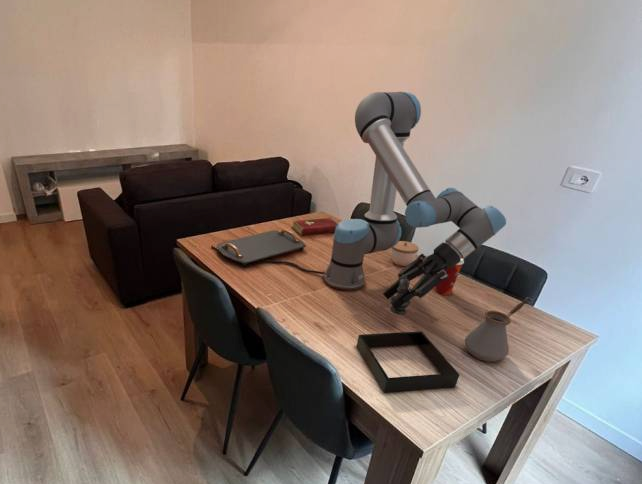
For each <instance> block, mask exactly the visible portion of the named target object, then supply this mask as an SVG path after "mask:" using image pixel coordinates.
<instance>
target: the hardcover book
mask: <svg viewBox="0 0 642 484" xmlns="http://www.w3.org/2000/svg"><path fill="white" fill-rule="evenodd" d="M338 223H339V222H338V221H336V220H335V219H334V218H332V217H319V218H307V219H293V220H292V227H291V229H292V230H294V232H296V233H297V235H299V236H300V237H308V236H320V235H331V234H334V233H335V230H336V226H337V225H338Z"/></svg>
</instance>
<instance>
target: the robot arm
mask: <svg viewBox="0 0 642 484" xmlns="http://www.w3.org/2000/svg"><path fill="white" fill-rule="evenodd" d="M421 115H422V106H421V103H420V101H419V99H418V97H417V96H416V95H415V94H413V93H412V92H406V91H376V92H371V93H368V94H367V95H366V96H365V97H363V99H361V100H360V101H359V103H358V105H357V107H356V109H355V112H354V124H355V125H354V126H355V128H356V132H357V135H359V137H360V139H361V141H362V142H363V143H365V144H368V145H369V147H370V148H371V150H372V152H373V153H374V155H375V163H374V168H373V169H374V170H373V178H372V185H371V193H370V201H369V210H368V211H367V212H365V213H364V215H363V217H364V218H363V219H360V218H354V219H353V218H348V219H347V218H346V219H344V220H341V221H340V222H337V223H338V225H337V226H336V230H335V233H333V242H332V249H331V257H330V262H329V264H328V265H327V268H326V269H325V271H319V270H311V269H307V268H303V267H301V266H300V265H298V264H296V263H294V262H291V261H286V260H272V259H261V260H257V261H256V262H261V263H271V264H272V263H273V264H286V265H291V266H294V267H295V268H297V269H299V270H300V271H303V272H306V273H313V274H319V275H323V282H324V283H325V284H326V285H327V286H328V287H330V288H332V289H335V290H339V291H346V292H347V291H349V292H350V291H356V290H357V291H358V290H360V289H361V288H363V287H364V285H365V280H366V278H365V274H364V268H363V263H364V258H365V255H370V254H373V253H377V252H378V253H379V252H384V251H388V250H389V249H391V248H392V247H394V246H395V245H396V244H397V243H398V242H399V241H401V237H402V226H400V225H401V223H400V222H399V220H398V215H397V214H396V213H395V206H396V197H397V192H398V194H399V196H400V197H401V200H402V201H403V203H404V204H405V206H406V208H405V212H404V216H405V221H406V223H407V224H408V225H409V226H410V227H412V228H416V229H417V228H419V229H420V228H428V227H430V226H434V225H435V226H436V225H438V224H444V223H445V224H446V223H449V222H452V223H453V224H454V225H455V226H456V227H458V229H457V230H456V231H455V232H453V233H452V234H450V235H449V236H448V237H447V238H445V240H444V241H445V242H441V243H439V244H438V245H437V246H436V247H435V248H434V249H433V253H432V254H430V255H425V254H424V253H421V254H419V256H418V257H417V258H415V259H414V261H413V262H411V263H410V264H408V265H407V266H405V267H404V268H403V269H402V270H401V271H400V272H398V273H397V276H398V279H397V280H396V281H395V282H393V283H392V284H391V285H390V287H389V288H387V289H386V290H385V291H383V292H382V295H383V296H384V297H385V299H386V300H390V299H391V297H393V296H395V295H397V291H398V290H397V288H398V287H399V284H400V280H401V279H403V278H405V277H406V276H407V279H408V280H409V281H410V282H411V281H412V280H414V279H416V278H418V277H420V276H421V277H420V278H419V280H418V281H417V282H416V283H415V284H414V285H413V286H412V287H411V288H410V287H409V288H408V289H409V290H406V291H405V292H404V293H403V294H401V295H400V296H399V297H398V298H396V299H395V300H394V301H392V302H391V301H390V305H391V306H393V307H394V308H395V309H397V308H399V307H400V306H401V305H403V304H404V303H406V302H408V301H409V300H410V301H411V300H412V299H413V298H419V299H423V297H424V296H426V295H427V294H428V293H429V292H431V291H432V290H433V289H435V287H436V286H437V285H438V284H439V283H441V282H442V281H444V280H446V279H448V278H449V277H448V275H447V274H446V272H445V271H446V270H447V269H448V268H453V267H454V266H455V265H456V264H458V263H459V262H460V260H461V259H460V258H462V259H464V260H465V258H467V257H468V256H469V255H470V254H472V253H473V252H474V251H476V250H477V249H478V248H479V247H480V246H482V245H483V244H484V243H486V242H487V241H489V240H490V239H491V238H492V237H494V236H495V235H496V234H497V233H499V232H500V230H502V229H503V228H504V227H505V226H506V224H507V218H506V217H505V215H504V214H503V213H502V212H501V211H500V210H499V209H498V208H497V207H495V206H493V205H487V206H486V207H484V208H482V207H479V206H478V205H477V204H476V203H475V202H473V201H472V200H471V199H470V198H468V197H467V196H466V195H465V194H464V193H463V192H461V191H459V190H458V189H457V188H455V187H447V188H446V189H445V190H442V191H441V192H440V193H439V194H438V195H437V196H436V197H435V195H434V194H433V192H432V191H431V189H430V187H429V186H428V183H426V181H425V179H424V178H423V177H422V174H421V173H420V171H419V170H418V168H417V167H416V165H415V164H414V162H413V161H412V160H411V158H410V156H409V155H408V154H409V153H407V152H406V150H405V148H404V145H405V142H406V141H407V140H408V139H409V138H411V137H410V136H411V130H412V129H414V128H415V127H416V126H417V124H418V123H419V122H420V119H421ZM213 246H214V245H211V248H212V249H213V250H216V251H218V252H219V250H218V249H217V247H216V246H214V247H213ZM215 247H216V248H215Z"/></svg>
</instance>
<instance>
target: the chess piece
mask: <svg viewBox="0 0 642 484" xmlns="http://www.w3.org/2000/svg"><path fill="white" fill-rule="evenodd" d="M410 284H411V281H409V280H408V279H407V276H406V277H405V278H403V279H401V280H400V284H399V287H398V288H397V290H398V291H397V293H396V294H395V295H393V296H392V297H391V298H390V303H391V302H392V301H394V300H395V299H396V298H398V297H399V296H400V295H401V294H403V293H404V292H405V291H406V290H409V288H410ZM409 291H410V290H409ZM410 304H411V300H409V301H408V302H406V303H404V304H403V305H401V306H400V307H399V308H397V309H395V308H394V307H393V306H392V305H391V306H390V307H389V311H390V312H391V313H392V314H395V315H398V316H404V315H406V314H407V312H408V310H407V308H408V307H409V305H410Z"/></svg>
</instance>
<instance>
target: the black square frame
mask: <svg viewBox="0 0 642 484" xmlns="http://www.w3.org/2000/svg"><path fill="white" fill-rule="evenodd" d="M405 346H417V347H418V348H419V349H420V351H422V353H423V354H424V355H425V357H426V358H427V359H428V360H429V361H430V363H431V364H432V365H433V367H434V368H435V369H436V370H437V372H438V373H435V374H421V375H410V376H409V375H407V376H393V377H389V376H388V374H387V372H386V371H385V370H384V368H383V366H382V365H381V364H380V362H379V360H378V358H377V357H376V356H375V354H374V352H373V351H372V349H373V348H388V347H391V348H392V347H405ZM356 349H357V351H358V353H359V354H360V356H361V358H362V359H363V361H364V363H365V364H366V366H367V368H368V369H369V371H370V373H371V374H372V376H373V378H374V380H375V381H376V383H377V385H378V387H379V388H380V390H381V392H382V393H383V394H394V393H405V392H406V393H408V392H420V391H421V392H422V391H432V390H433V391H434V390H445V389H446V390H447V389H456V386H457V384H458V381H459V378H460V373H459V372H458V371H457V370H456V369H455V367H453V365H452V363H450V362H449V360H448V359H447V358H446V357H445V356H444V355H443V354H442V352H440V349H438V348H437V347H436V346H435V344H434V343H433V342H432V341H431V340H430V339H429V337H428V336H427V335H426V334H425V333H424V332H423V330H417V331H416V330H415V331H399V332H398V331H397V332H383V333H366V334H365V333H364V334H358V336H357V341H356Z"/></svg>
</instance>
